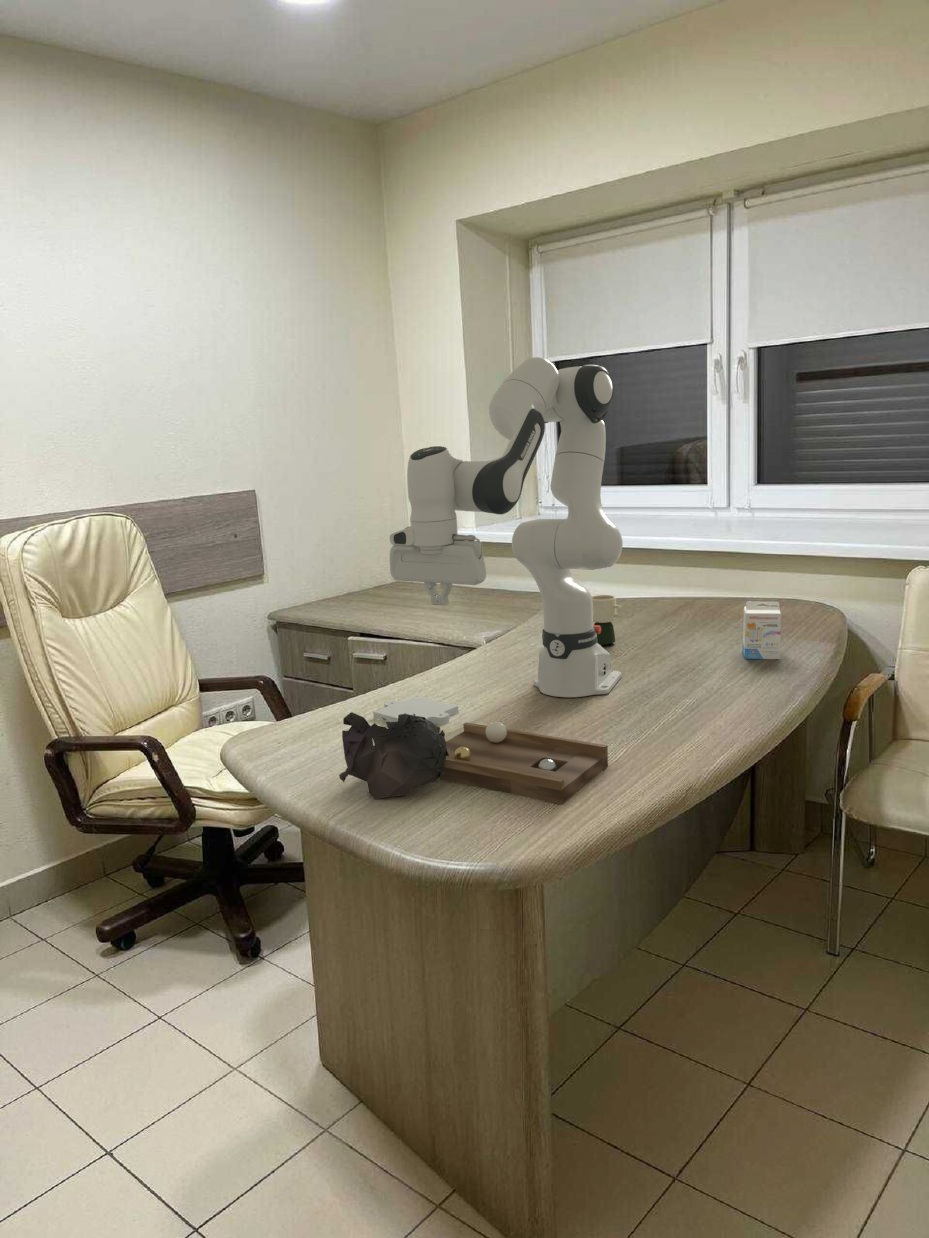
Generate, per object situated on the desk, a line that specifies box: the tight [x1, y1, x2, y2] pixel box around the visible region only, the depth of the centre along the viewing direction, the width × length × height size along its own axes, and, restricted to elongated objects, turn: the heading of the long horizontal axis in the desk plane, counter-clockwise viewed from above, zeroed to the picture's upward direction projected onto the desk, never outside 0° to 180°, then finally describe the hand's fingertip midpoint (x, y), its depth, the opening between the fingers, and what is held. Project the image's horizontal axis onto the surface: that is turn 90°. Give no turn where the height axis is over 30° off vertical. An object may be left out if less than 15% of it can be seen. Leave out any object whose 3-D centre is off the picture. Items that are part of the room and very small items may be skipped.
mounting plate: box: [372, 695, 460, 726], centre depth 196 cm, size 18×13×2 cm
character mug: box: [591, 594, 622, 646], centre depth 245 cm, size 11×7×13 cm, turn 53°
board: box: [439, 722, 609, 806], centre depth 163 cm, size 18×30×4 cm, turn 57°
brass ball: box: [454, 747, 471, 761], centre depth 161 cm, size 3×3×3 cm
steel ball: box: [538, 759, 557, 772], centre depth 159 cm, size 3×3×3 cm
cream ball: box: [485, 721, 507, 743], centre depth 170 cm, size 4×4×4 cm
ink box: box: [741, 600, 782, 660], centre depth 226 cm, size 9×8×13 cm
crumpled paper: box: [338, 711, 454, 800], centre depth 155 cm, size 14×15×20 cm
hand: (439, 604), depth 177 cm, fingers closed
